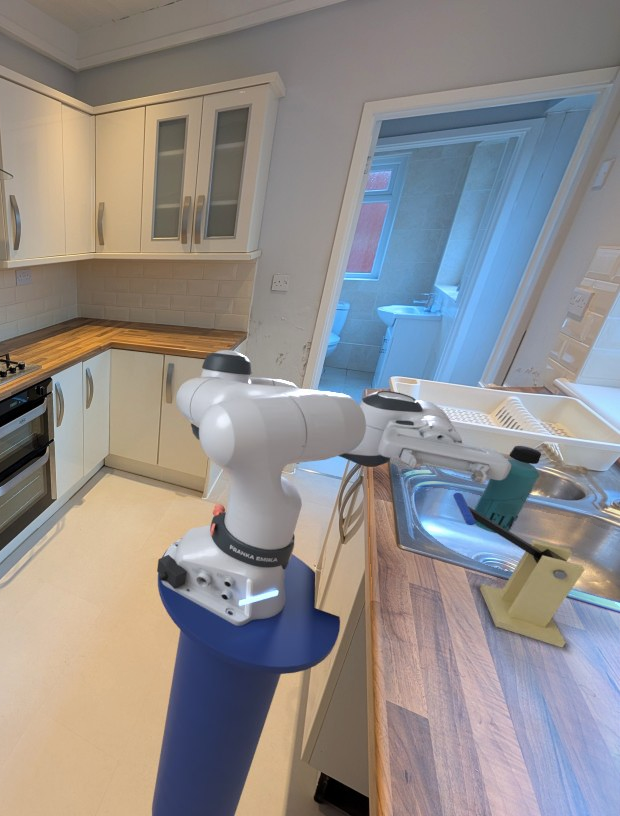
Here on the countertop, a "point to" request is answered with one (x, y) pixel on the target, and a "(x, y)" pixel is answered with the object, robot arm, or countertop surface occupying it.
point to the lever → (500, 530)
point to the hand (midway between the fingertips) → (447, 472)
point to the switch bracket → (534, 594)
